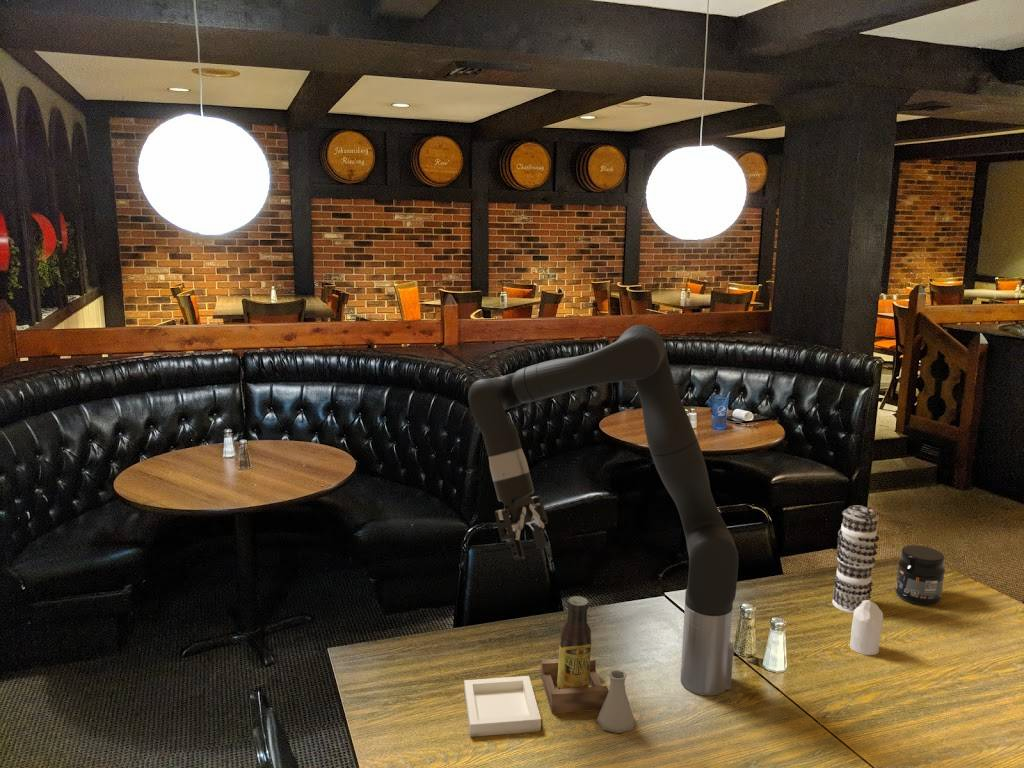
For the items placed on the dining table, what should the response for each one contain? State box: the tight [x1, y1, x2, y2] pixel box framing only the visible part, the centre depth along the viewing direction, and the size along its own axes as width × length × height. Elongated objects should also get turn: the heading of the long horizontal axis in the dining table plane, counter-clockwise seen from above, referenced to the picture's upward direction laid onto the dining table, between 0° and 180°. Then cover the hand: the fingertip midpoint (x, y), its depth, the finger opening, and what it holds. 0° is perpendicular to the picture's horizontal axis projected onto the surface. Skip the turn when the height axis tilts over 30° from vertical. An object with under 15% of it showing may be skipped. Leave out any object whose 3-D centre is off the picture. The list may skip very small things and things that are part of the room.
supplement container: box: [894, 544, 946, 607], centre depth 197 cm, size 10×10×12 cm
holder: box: [540, 655, 609, 714], centre depth 157 cm, size 11×12×4 cm
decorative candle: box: [832, 504, 880, 615], centre depth 191 cm, size 9×9×25 cm
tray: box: [463, 675, 542, 738], centre depth 152 cm, size 13×14×2 cm
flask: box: [596, 669, 636, 734], centre depth 148 cm, size 7×7×10 cm
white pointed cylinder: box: [849, 599, 884, 656], centre depth 173 cm, size 6×12×6 cm
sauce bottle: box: [556, 595, 592, 689], centre depth 156 cm, size 6×6×20 cm
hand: (531, 553), depth 158 cm, fingers open, 8 cm apart
